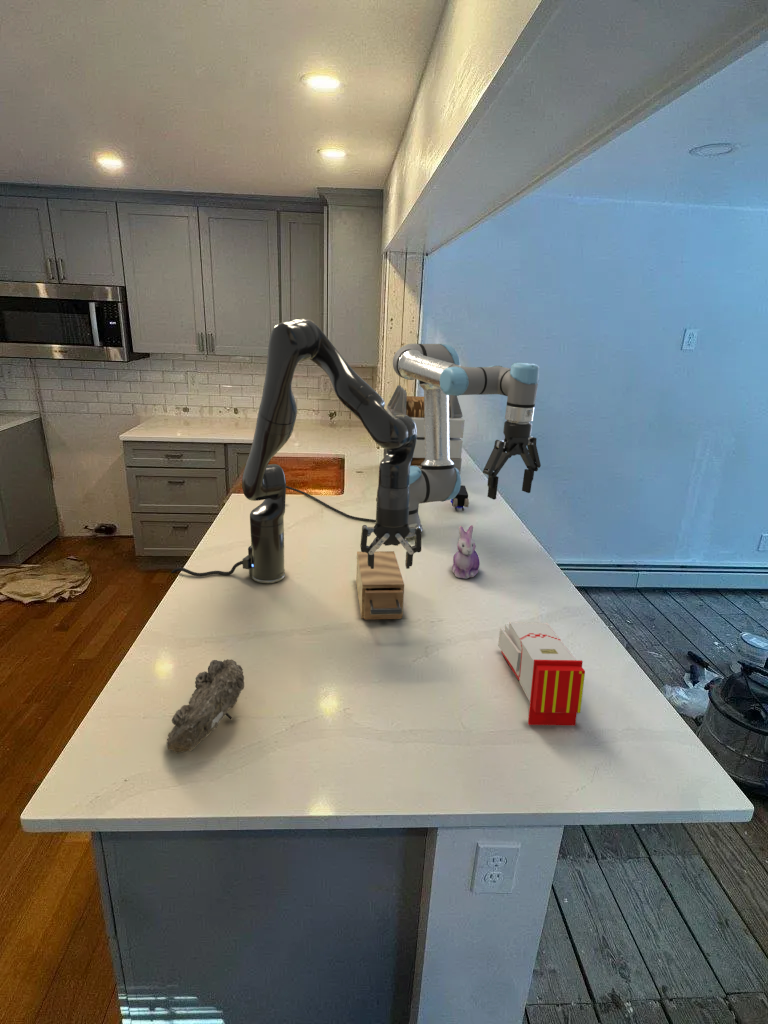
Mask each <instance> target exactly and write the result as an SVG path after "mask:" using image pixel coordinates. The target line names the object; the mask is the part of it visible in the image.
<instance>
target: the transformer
mask: <svg viewBox="0 0 768 1024" xmlns="http://www.w3.org/2000/svg"><path fill="white" fill-rule="evenodd" d="M407 394H408V393H407V390H406V389H404V388H403V387H402V385H399V384H398V385H397V386H396V388H395V390H394V392H393V394H392V395H391V398H390V400H389V402H388V404H387V405H386V411H387V412H388V413H389V414H390V415H391V416H392V417H393V416H396V415H407V416H409V417H410V418H412V419H413V421H414V423H415V425H416V429H417V440H416V445H415V450H414V454H413V458H412V461H411V465H410V466H417V467H421V463H422V462H423V461H424V460H425V422H424V396H415V395H414V396H413V395H412V396H411V395H407ZM464 429H465V419H464V418H463V411H462V408H461V405H460V402H459V398H458V396H454V395H449V448H450V460H451V461H452V462H453V463H454V467H455V468H456V469H458V471H459V475H460V476H461V472H462V461H463V460H462V453H463V442H464V441H463V440H462V439H463V438H464V431H465V430H464ZM386 452H387V450H386V449H384V448H383V458H384V457H385V456H386Z"/></svg>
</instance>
